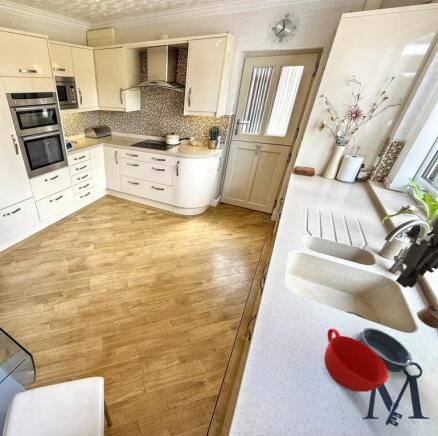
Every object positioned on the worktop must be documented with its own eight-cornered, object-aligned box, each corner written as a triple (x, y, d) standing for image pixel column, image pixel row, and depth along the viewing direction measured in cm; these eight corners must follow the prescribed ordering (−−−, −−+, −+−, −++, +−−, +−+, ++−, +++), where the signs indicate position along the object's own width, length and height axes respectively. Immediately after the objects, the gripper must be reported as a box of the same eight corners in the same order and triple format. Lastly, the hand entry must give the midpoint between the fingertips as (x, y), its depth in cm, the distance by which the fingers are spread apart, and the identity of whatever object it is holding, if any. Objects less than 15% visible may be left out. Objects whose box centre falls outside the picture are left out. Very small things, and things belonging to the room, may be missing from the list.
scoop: (443, 328, 63) (475, 314, 57) (427, 328, 63) (457, 314, 57) (396, 278, 75) (419, 262, 69) (382, 277, 74) (404, 261, 69)
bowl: (378, 336, 82) (386, 328, 80) (413, 373, 72) (423, 365, 69) (346, 335, 81) (352, 327, 79) (376, 373, 71) (384, 365, 69)
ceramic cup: (340, 344, 78) (355, 326, 73) (380, 404, 64) (402, 386, 59) (301, 340, 79) (313, 322, 74) (332, 399, 64) (350, 380, 59)
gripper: (468, 211, 62) (413, 275, 74) (419, 209, 62) (371, 275, 73) (506, 225, 56) (439, 294, 68) (452, 224, 55) (393, 293, 67)
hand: (403, 284), depth 71 cm, fingers closed on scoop
